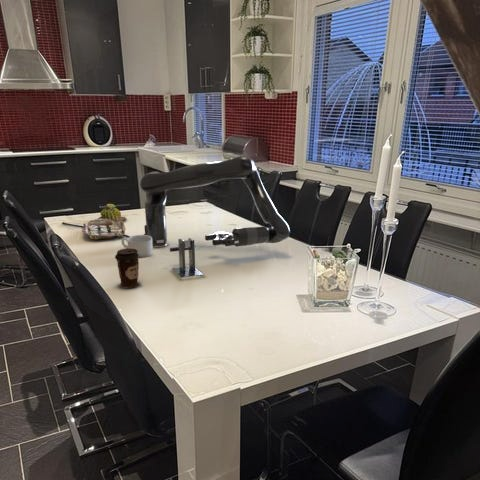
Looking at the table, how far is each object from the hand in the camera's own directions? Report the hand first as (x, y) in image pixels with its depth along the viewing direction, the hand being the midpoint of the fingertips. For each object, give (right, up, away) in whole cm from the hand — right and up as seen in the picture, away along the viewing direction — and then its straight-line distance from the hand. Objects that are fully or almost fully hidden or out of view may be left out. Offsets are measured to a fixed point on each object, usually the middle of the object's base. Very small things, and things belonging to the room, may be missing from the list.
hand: (209, 240), depth 190 cm
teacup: (-32, -4, +15) cm, 36 cm away
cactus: (-61, +24, +77) cm, 101 cm away
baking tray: (-56, +11, +47) cm, 74 cm away
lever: (-9, -5, -9) cm, 14 cm away
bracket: (-8, -15, -8) cm, 18 cm away
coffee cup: (-27, -20, -20) cm, 40 cm away
